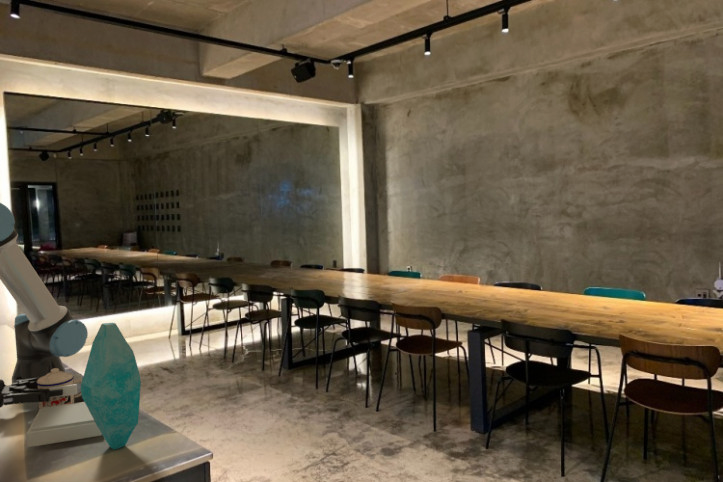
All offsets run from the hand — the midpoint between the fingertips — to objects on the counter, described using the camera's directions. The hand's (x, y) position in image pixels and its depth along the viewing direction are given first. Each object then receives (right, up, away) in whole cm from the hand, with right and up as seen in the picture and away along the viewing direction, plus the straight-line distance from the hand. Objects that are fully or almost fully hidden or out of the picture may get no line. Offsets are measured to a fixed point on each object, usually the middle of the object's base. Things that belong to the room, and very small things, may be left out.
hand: (79, 383), depth 149 cm
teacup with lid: (-4, -7, -1) cm, 8 cm away
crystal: (+23, -8, -26) cm, 36 cm away
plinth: (+5, -8, -14) cm, 17 cm away
